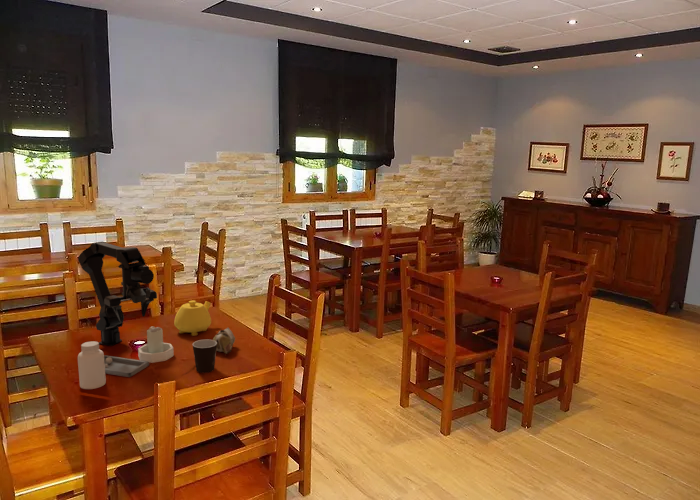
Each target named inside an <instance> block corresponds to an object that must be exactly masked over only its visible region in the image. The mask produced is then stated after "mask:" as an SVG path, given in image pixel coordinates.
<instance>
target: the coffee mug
mask: <svg viewBox="0 0 700 500" xmlns="http://www.w3.org/2000/svg"><path fill="white" fill-rule="evenodd" d="M191 345H192V350H193V351H192V352H193V357H194V363H195V370H196V372H197V373H200V374H208V373H211V372H213V371H214V370H215V364H216V355H217V351H216V348H217V342H216V341H214V340H213V339H208V338H207V339H199V340H196V341H194V342H192V344H191Z"/></svg>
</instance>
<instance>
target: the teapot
mask: <svg viewBox="0 0 700 500" xmlns="http://www.w3.org/2000/svg"><path fill="white" fill-rule="evenodd" d="M179 307H180V308H179V309H178V311H177V312H176V314H175V317H174V324H173V325H174V327H175V328H176V329H178V333H179V334H184V333H190V336H192V337H193V336H198V332H206V331H208V328H209V327H210V325H212V317H211V314H210V312H209V309H210V307H211V302H210V301H207V300H205V301H204V304H203V303H201V302H197V300H195V299H193V300H189V301H188V302H186V303H184V304H182V305H181V306H179Z"/></svg>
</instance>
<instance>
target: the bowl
mask: <svg viewBox="0 0 700 500" xmlns="http://www.w3.org/2000/svg"><path fill="white" fill-rule="evenodd" d="M137 353H138V354H137V355H138V360H141V361H148V362H149V364H151V363H152V364H154V363H159V362H165V361H168V360H170V359H171V358H172V357H174V353H175V352H174V346H173V345H172V344H171V343H168V342H163V352H160V353H153V354H152V353H148V344H147V343H145V344H144V345H142V346H140V347H138V348H137Z"/></svg>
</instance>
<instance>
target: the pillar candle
mask: <svg viewBox="0 0 700 500" xmlns="http://www.w3.org/2000/svg"><path fill="white" fill-rule="evenodd" d="M163 332H164V331H163V328H162V327H160V326H156V327H155V326H150V327H149V328H148V329H147V330H146V340H147V341H146V342H147V343H146V344H148V353H152V354H153V353H160V352H163V343H164V334H163Z"/></svg>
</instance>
